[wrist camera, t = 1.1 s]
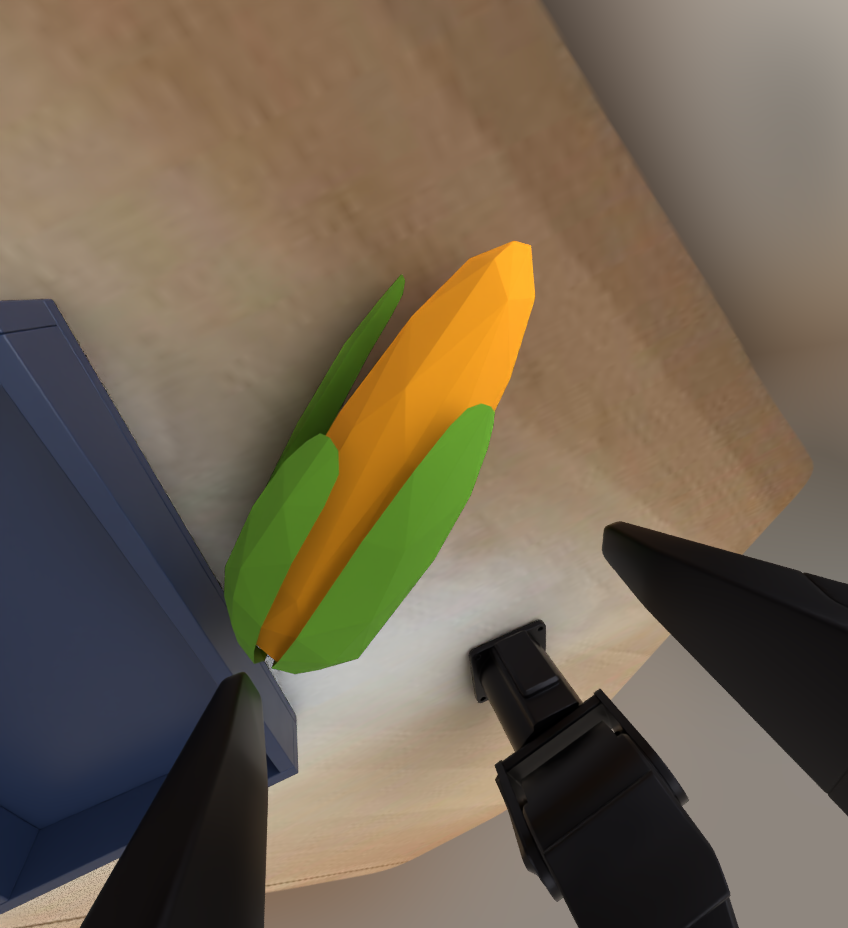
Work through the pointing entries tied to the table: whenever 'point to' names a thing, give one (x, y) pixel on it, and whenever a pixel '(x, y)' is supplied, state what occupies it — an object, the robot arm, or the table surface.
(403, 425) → the corn
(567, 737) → the robot arm
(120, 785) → the tray
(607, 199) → the table surface
